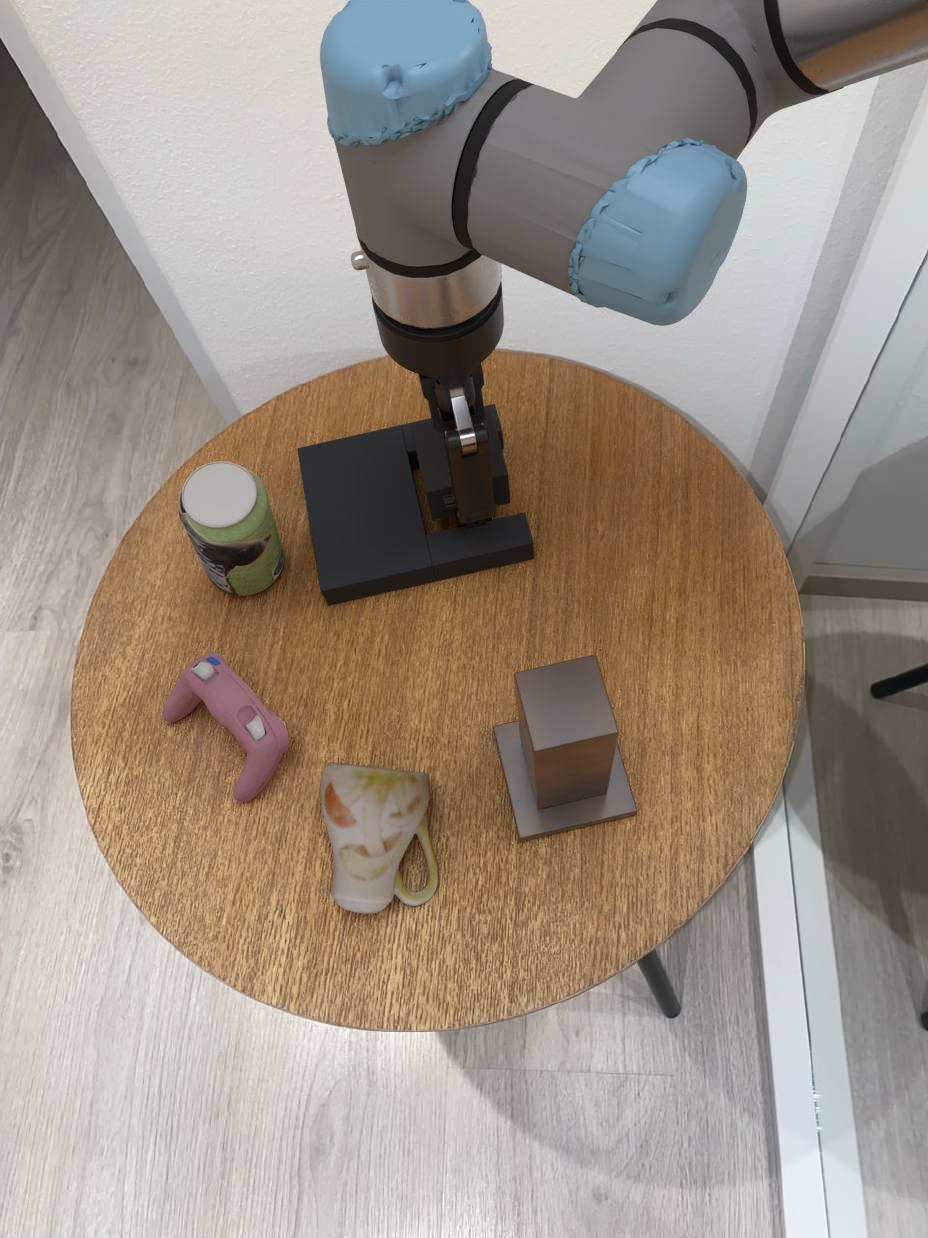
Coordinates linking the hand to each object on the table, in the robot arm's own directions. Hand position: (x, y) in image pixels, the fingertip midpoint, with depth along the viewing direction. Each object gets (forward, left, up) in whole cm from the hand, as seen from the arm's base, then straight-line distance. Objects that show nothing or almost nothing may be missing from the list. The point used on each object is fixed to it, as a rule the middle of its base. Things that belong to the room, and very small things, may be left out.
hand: (466, 497), depth 76 cm
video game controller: (+20, +15, 0) cm, 25 cm away
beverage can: (+17, +2, 0) cm, 17 cm away
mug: (+11, +25, 0) cm, 27 cm away
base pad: (+4, 0, 0) cm, 4 cm away
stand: (-2, +23, 0) cm, 23 cm away
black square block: (0, 0, +3) cm, 3 cm away
